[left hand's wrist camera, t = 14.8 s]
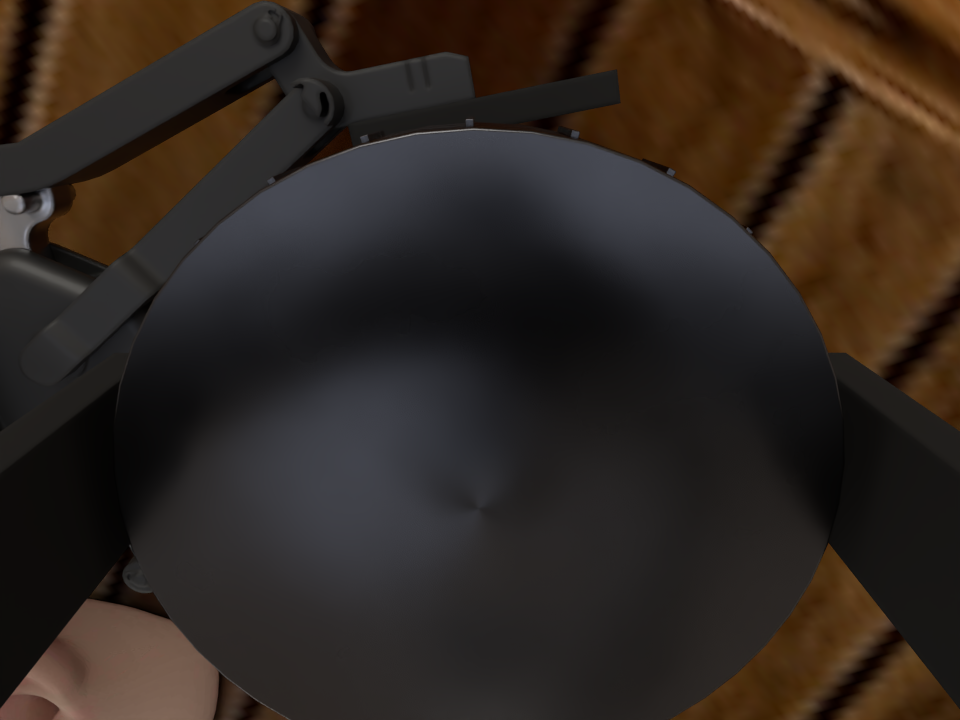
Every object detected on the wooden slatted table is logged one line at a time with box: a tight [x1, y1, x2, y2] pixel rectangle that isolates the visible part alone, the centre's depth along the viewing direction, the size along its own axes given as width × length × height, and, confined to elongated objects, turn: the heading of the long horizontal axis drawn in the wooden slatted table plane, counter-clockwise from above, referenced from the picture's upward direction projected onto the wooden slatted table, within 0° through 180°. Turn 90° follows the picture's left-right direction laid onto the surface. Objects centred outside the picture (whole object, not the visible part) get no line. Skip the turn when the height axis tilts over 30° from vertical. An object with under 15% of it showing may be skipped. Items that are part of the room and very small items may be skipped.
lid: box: [113, 116, 845, 720], centre depth 11 cm, size 11×11×2 cm
